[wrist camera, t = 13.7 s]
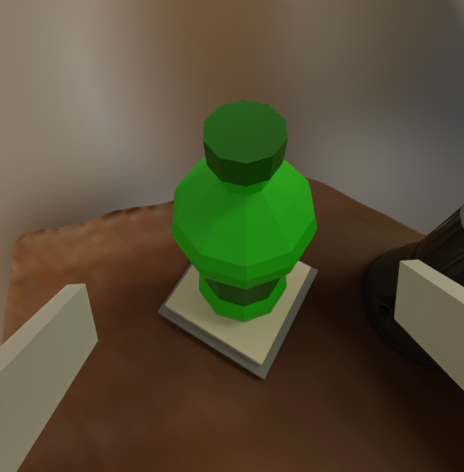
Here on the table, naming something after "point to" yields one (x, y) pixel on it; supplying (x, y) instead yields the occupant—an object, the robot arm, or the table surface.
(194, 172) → the plastic bottle
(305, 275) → the stepped plinth
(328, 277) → the table surface
